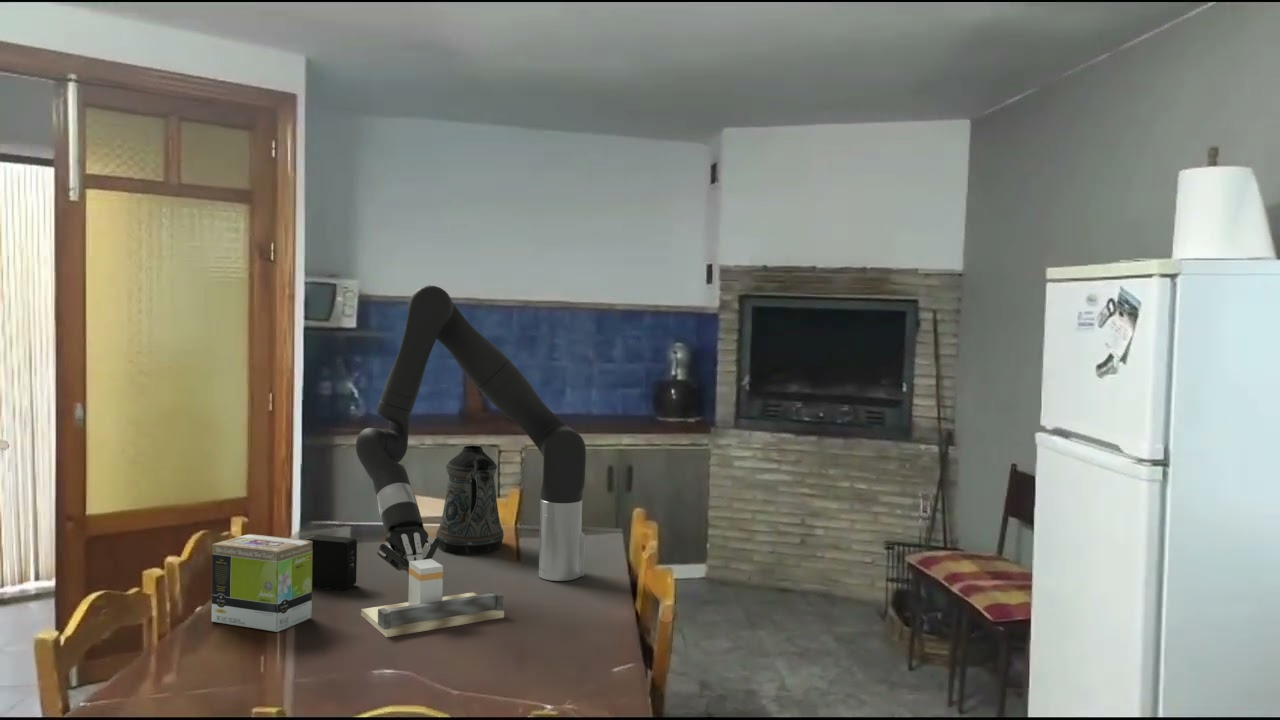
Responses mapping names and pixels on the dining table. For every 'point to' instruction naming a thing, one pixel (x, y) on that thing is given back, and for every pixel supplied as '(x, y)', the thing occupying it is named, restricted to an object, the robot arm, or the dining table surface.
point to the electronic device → (333, 562)
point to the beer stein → (470, 505)
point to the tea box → (262, 582)
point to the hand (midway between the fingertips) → (420, 585)
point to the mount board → (428, 624)
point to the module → (425, 581)
